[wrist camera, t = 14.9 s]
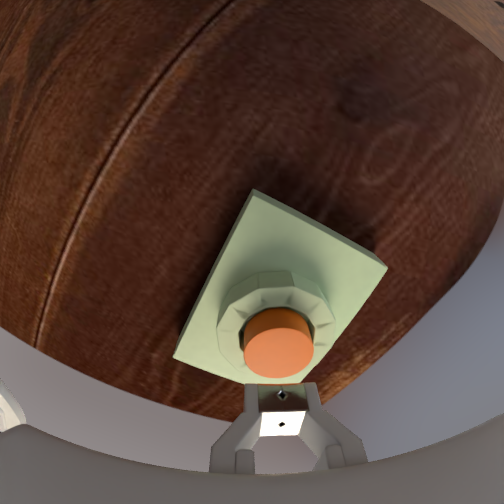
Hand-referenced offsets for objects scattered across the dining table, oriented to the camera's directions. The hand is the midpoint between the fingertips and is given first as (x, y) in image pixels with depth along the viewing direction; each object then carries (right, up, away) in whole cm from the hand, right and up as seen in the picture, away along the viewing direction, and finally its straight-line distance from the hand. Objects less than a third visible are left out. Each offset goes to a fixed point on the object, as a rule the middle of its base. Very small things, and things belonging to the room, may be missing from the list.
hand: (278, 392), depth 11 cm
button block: (0, +3, +8) cm, 8 cm away
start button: (0, +1, +4) cm, 5 cm away
